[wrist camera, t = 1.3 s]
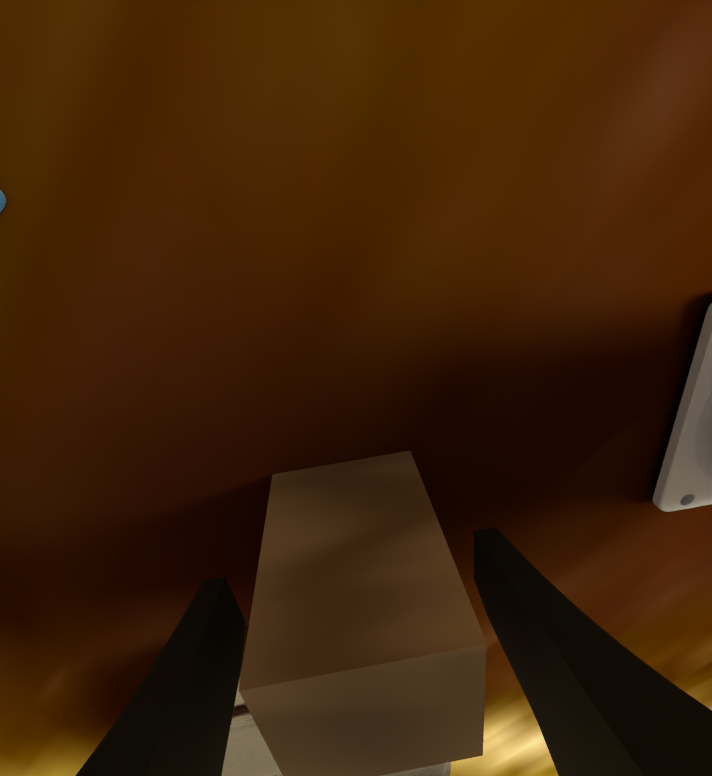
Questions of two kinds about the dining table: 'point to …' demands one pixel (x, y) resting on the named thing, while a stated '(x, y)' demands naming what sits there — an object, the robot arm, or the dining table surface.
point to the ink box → (2, 201)
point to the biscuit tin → (253, 758)
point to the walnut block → (361, 627)
